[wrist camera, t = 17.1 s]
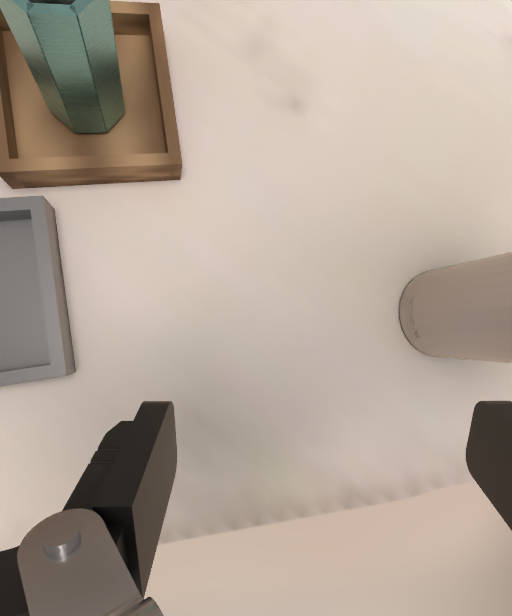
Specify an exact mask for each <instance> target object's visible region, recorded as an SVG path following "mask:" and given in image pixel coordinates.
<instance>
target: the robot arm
mask: <svg viewBox="0 0 512 616" xmlns="http://www.w3.org/2000/svg"><path fill="white" fill-rule="evenodd" d="M400 321H401V325H402V329H403V331H404V333H405V335H406V337H407V339H408V340H409V341H410V343H411V344H412V345H413V346H414V347H415V348H416V349H418V350H419V351H421V352H422V353H424V354H426V355H430V356H433V357H445V358H457V359H467V360H480V361H492V362H505V363H512V252H509V253H505V254H501V255H496V256H492V257H488V258H483V259H479V260H475V261H470V262H466V263H462V264H457V265H452V266H448V267H444V268H440V269H435V270H431V271H427V272H424V273H422V274H420V275H418V276H417V277H415V278H414V279H413V280H412V281H411V282H410V283H409V284H408V285H407V287H406V289H405V291H404V292H403V295H402V298H401V302H400ZM466 462H467V466H468V469H469V472H470V474H471V475H472V477H473V478H474V480H475V481H476V482H477V484H478V485H479V486H480V488H481V489H482V491H483V492H484V493H485V495H486V496H487V497H488V499H489V500H490V501H491V503H492V504H493V506H494V507H495V508H496V510H497V511H498V512H499V514H500V515H501V516H502V518H503V519H504V521H505V522H506V523H507V524H508V526H509V527H510V529H511V530H512V402H511V401H480V402H478V403H477V404H476V405H475V408H474V412H473V417H472V422H471V427H470V432H469V437H468V442H467V447H466ZM176 465H177V445H176V431H175V417H174V406H173V403H172V401H144V402H143V403H142V404H141V406H140V408H139V410H138V412H137V414H136V416H135V418H134V421H121V422H119V423H118V424H117V425H116V426H115V427H113V428H112V429H111V430H110V431H108V432H107V433H106V434H105V436H104V438H103V440H102V441H101V443H100V445H99V447H98V451H96V452H95V454H94V456H93V457H92V459H91V463H90V464H88V466H87V468H86V470H85V471H84V473H83V475H82V477H81V478H80V480H79V482H78V484H77V486H76V487H75V489H74V491H73V493H72V494H71V496H70V498H69V500H68V501H67V503H66V505H65V507H64V509H63V510H62V511H61V512H59V513H56V514H53V515H51V516H50V517H48V518H46V519H44V520H43V521H41V522H40V523H38V524H37V525H36V526H35V527H33V528H32V529H31V530H30V531H29V532H28V534H27V535H26V536H25V537H24V539H23V541H22V542H21V544H20V546H17V547H15V548H12V549H9V550H5V551H1V552H0V616H163V614H162V612H161V610H160V608H159V607H158V605H157V604H156V602H155V601H154V600H153V599H152V598H151V597H148V598H147V599H145V600H144V595H145V591H146V587H147V583H148V579H149V575H150V571H151V568H152V564H153V560H154V556H155V552H156V548H157V544H158V540H159V536H160V533H161V529H162V525H163V521H164V517H165V513H166V509H167V505H168V501H169V497H170V494H171V490H172V486H173V482H174V478H175V473H176Z"/></svg>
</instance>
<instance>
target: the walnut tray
mask: <svg viewBox="0 0 512 616" xmlns="http://www.w3.org/2000/svg"><path fill="white" fill-rule="evenodd" d="M110 6H111V13H112V20H113V27H114V34H115V41H116V48H117V55H118V62H119V69H120V76H121V83H122V90H123V98H124V105H125V113H124V114H123V115H122V117H121V118H120V119H119V121H118V122H117V124H116V125H115V126H114V127H112V128H111V129H110V130H109V131H108V132H103V133H99V134H83V133H76V132H74V131H73V130H71V129H70V128H69V127H67V126H66V125H65V124H64V123H62V122H61V121H60V120H59V119H58V118H56V117H55V116H54V115H53V114H51V112H50V110H49V108H48V106H47V104H46V102H45V100H44V98H43V96H42V94H41V92H40V90H39V87H38V85H37V83H36V81H35V79H34V77H33V75H32V73H31V71H30V69H29V67H28V65H27V63H26V61H25V58H24V56H23V54H22V52H21V50H20V48H19V46H18V44H17V42H16V40H15V38H14V36H13V34H12V32H11V30H10V27H9V25H8V23H7V21H6V19H5V17H4V15H3V13H2V11H1V9H0V177H1V178H2V179H3V180H4V181H5V182H6V183H7V184H8V185H9V186H10V187H11V188H12V189H16V188H34V187H52V186H71V185H89V184H107V183H126V182H144V181H162V180H180V176H181V169H182V159H181V152H180V145H179V138H178V131H177V124H176V117H175V110H174V103H173V96H172V89H171V82H170V75H169V68H168V61H167V54H166V47H165V40H164V33H163V26H162V19H161V12H160V5H159V3H141V2H121V1H110Z"/></svg>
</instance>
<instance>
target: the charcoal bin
mask: <svg viewBox="0 0 512 616" xmlns="http://www.w3.org/2000/svg"><path fill="white" fill-rule="evenodd" d="M73 372H75V363H74V356H73V348H72V340H71V333H70V325H69V318H68V310H67V302H66V295H65V287H64V280H63V272H62V265H61V257H60V249H59V242H58V234H57V227H56V219H55V212H54V209H53V207H52V206H51V205H50V204H49V202H48V201H47V200H46V199H45V198H44V196H29V197H13V198H0V386H4V385H11V384H17V383H23V382H29V381H35V380H41V379H48V378H54V377H60V376H66V375H69V374H71V373H73Z"/></svg>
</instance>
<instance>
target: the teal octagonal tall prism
mask: <svg viewBox="0 0 512 616" xmlns="http://www.w3.org/2000/svg"><path fill="white" fill-rule="evenodd" d="M0 9H1V11H2V13H3V15H4V17H5V19H6V21H7V23H8V25H9V27H10V30H11V32H12V34H13V36H14V38H15V40H16V42H17V44H18V46H19V48H20V50H21V52H22V54H23V56H24V58H25V61H26V63H27V65H28V67H29V69H30V71H31V73H32V75H33V77H34V79H35V81H36V83H37V85H38V87H39V90H40V92H41V94H42V96H43V98H44V100H45V102H46V104H47V106H48V108H49V110H50V112H51V114H53V115H54V116H55V117H56V118H58V119H59V120H60V121H61V122H62V123H64V124H65V125H66V126H67V127H69V128H70V129H71V130H73V131H74V132H76V133H83V134H99V133H103V132H108V131H109V130H110V129H111V128H112V127H114V126H115V125H116V124H117V122H118V121H119V119H120V118H121V117H122V115H123V114H124V113H125V105H124V98H123V90H122V83H121V76H120V69H119V62H118V55H117V48H116V41H115V34H114V27H113V20H112V13H111V6H110V0H0Z"/></svg>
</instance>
